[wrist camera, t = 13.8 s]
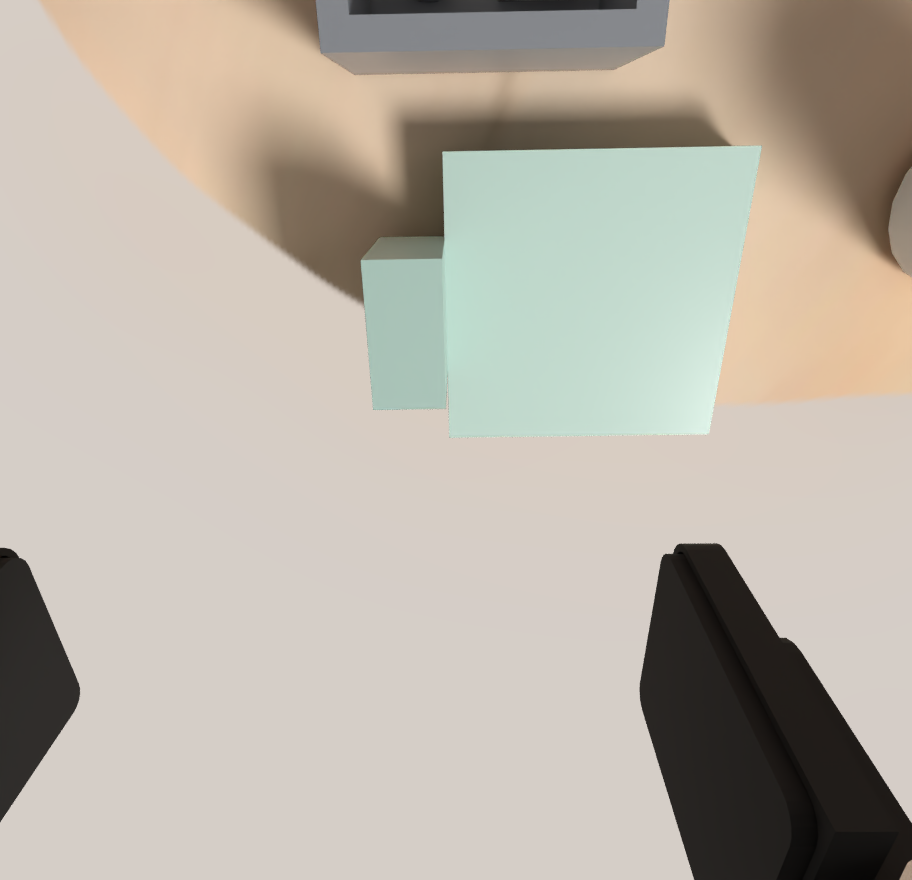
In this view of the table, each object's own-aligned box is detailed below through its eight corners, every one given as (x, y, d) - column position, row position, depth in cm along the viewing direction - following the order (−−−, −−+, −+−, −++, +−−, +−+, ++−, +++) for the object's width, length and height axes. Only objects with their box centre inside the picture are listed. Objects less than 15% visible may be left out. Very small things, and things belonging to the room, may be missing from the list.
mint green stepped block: (376, 152, 27) (351, 155, 21) (736, 145, 27) (821, 146, 21) (394, 418, 33) (379, 483, 27) (691, 414, 33) (747, 478, 26)
